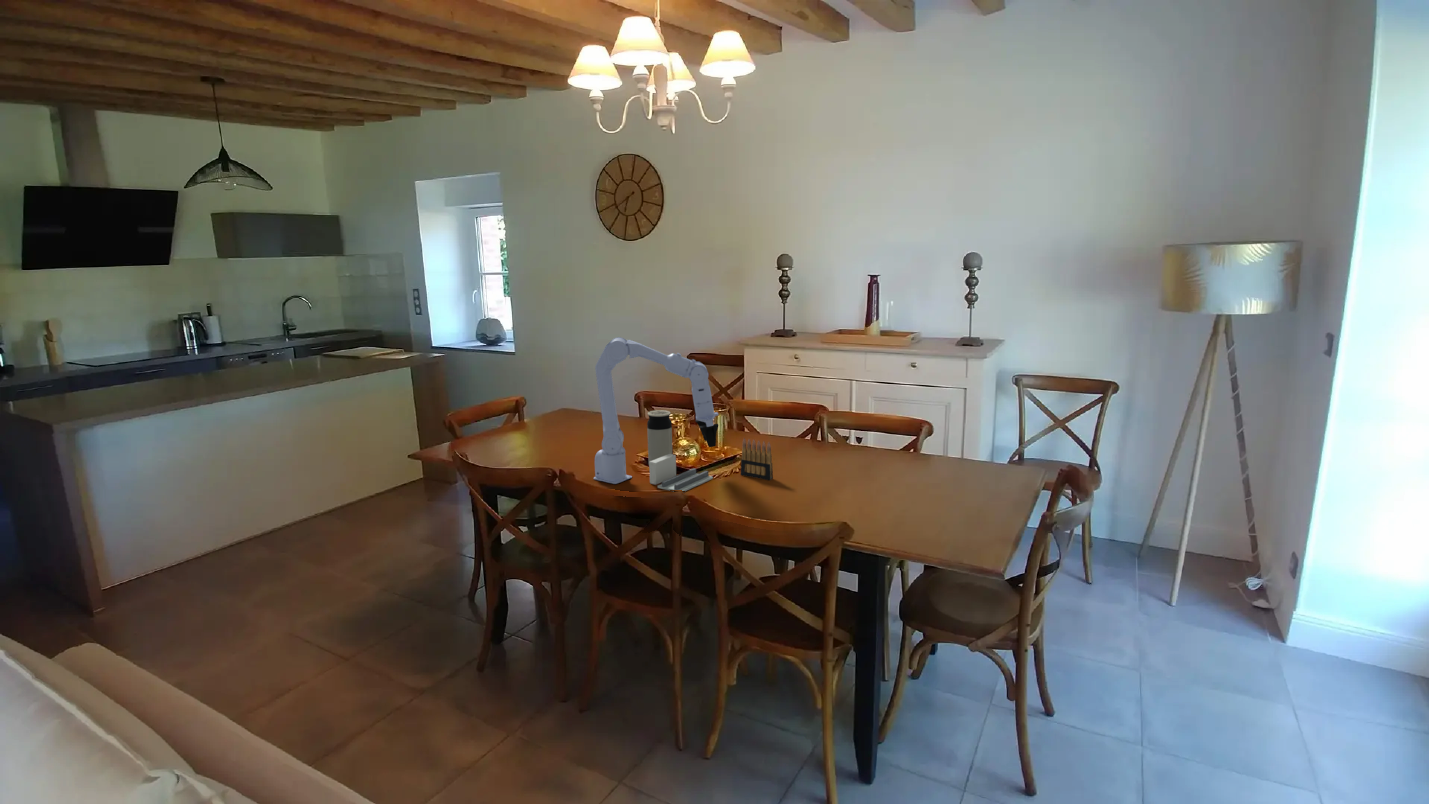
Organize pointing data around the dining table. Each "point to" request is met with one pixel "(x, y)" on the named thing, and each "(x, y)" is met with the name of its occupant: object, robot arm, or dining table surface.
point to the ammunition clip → (756, 460)
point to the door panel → (662, 468)
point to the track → (685, 480)
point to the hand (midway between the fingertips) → (710, 443)
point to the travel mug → (659, 434)
